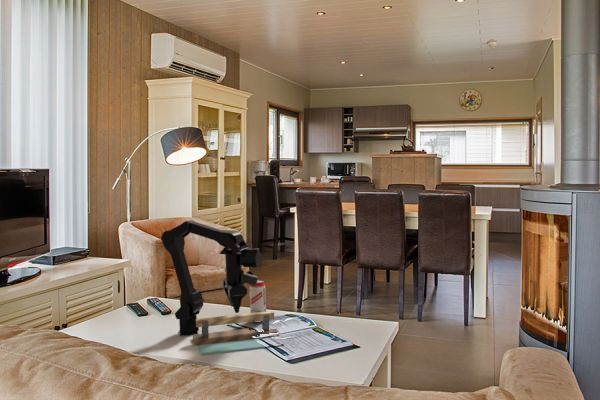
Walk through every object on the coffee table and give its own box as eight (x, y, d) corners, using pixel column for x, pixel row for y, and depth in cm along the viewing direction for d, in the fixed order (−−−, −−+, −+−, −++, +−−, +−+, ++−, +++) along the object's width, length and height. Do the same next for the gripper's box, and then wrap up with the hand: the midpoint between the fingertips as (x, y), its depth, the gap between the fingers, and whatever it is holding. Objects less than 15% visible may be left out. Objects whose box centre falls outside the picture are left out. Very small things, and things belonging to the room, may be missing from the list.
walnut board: (195, 345, 184) (194, 341, 184) (193, 338, 192) (192, 334, 191) (279, 335, 192) (279, 331, 192) (274, 329, 200) (273, 325, 200)
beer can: (264, 323, 209) (262, 283, 208) (248, 322, 210) (247, 282, 209) (268, 318, 215) (266, 279, 214) (253, 318, 216) (252, 279, 215)
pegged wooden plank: (203, 339, 186) (202, 322, 186) (201, 335, 191) (201, 318, 190) (270, 331, 193) (269, 315, 193) (267, 327, 197) (266, 311, 197)
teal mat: (201, 355, 174) (201, 353, 174) (198, 347, 182) (198, 345, 182) (284, 345, 181) (284, 343, 181) (277, 337, 190) (277, 336, 190)
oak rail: (196, 327, 187) (196, 320, 186) (196, 325, 189) (195, 318, 189) (274, 319, 194) (274, 312, 194) (272, 317, 197) (272, 311, 197)
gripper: (261, 269, 184) (262, 314, 185) (250, 261, 202) (252, 301, 203) (229, 271, 181) (230, 317, 182) (221, 263, 199) (222, 304, 199)
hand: (235, 309), depth 191 cm, fingers open, 9 cm apart
